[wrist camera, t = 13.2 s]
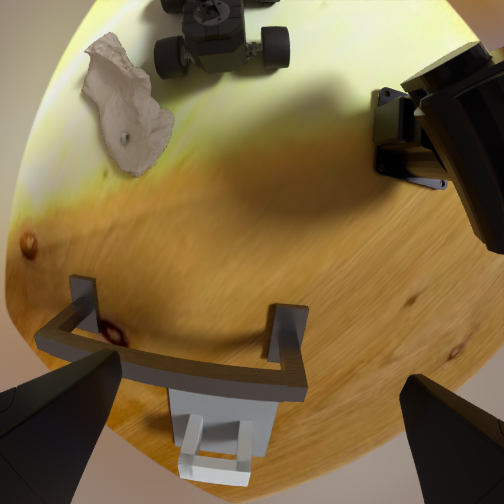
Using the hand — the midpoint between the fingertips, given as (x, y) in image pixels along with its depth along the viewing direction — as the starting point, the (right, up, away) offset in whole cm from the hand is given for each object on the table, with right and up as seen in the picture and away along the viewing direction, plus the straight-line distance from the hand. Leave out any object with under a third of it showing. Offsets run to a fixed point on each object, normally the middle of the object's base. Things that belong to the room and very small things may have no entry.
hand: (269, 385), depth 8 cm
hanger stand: (-6, -2, +14) cm, 16 cm away
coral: (-9, +14, +10) cm, 20 cm away
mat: (-4, -14, +17) cm, 22 cm away
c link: (-4, -14, +17) cm, 22 cm away
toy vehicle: (-3, +23, +8) cm, 24 cm away
